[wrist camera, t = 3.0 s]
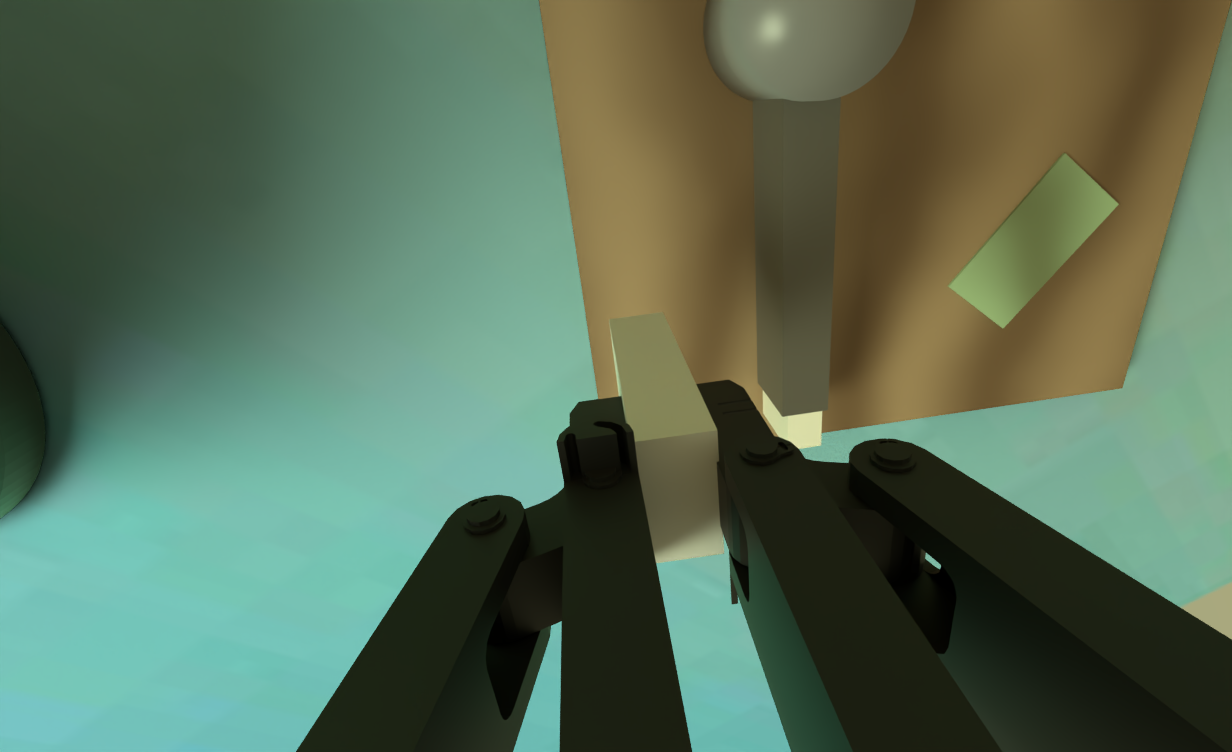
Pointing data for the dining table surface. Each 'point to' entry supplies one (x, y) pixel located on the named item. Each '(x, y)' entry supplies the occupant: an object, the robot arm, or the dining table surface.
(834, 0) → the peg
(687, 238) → the board
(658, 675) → the robot arm
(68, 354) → the dining table surface
